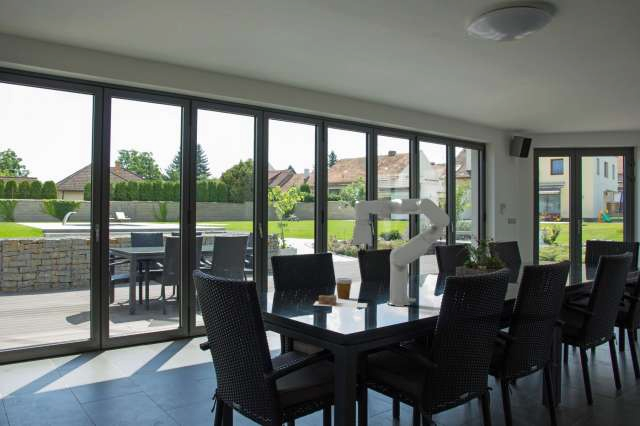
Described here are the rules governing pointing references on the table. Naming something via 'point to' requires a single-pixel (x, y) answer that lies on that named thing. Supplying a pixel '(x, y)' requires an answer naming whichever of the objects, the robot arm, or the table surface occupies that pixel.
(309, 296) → the table surface
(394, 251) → the robot arm
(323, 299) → the walnut T-block
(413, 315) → the table surface
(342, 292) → the disposable coffee cup
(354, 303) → the push board
